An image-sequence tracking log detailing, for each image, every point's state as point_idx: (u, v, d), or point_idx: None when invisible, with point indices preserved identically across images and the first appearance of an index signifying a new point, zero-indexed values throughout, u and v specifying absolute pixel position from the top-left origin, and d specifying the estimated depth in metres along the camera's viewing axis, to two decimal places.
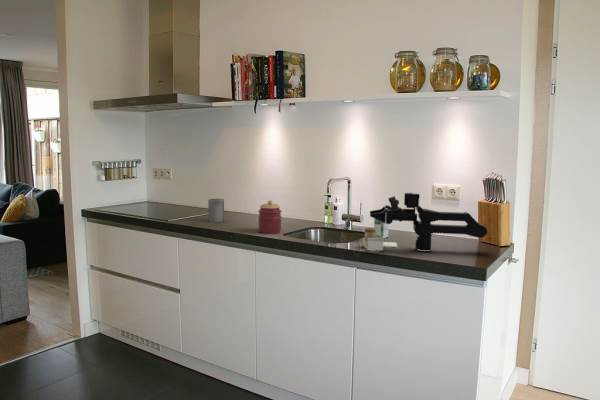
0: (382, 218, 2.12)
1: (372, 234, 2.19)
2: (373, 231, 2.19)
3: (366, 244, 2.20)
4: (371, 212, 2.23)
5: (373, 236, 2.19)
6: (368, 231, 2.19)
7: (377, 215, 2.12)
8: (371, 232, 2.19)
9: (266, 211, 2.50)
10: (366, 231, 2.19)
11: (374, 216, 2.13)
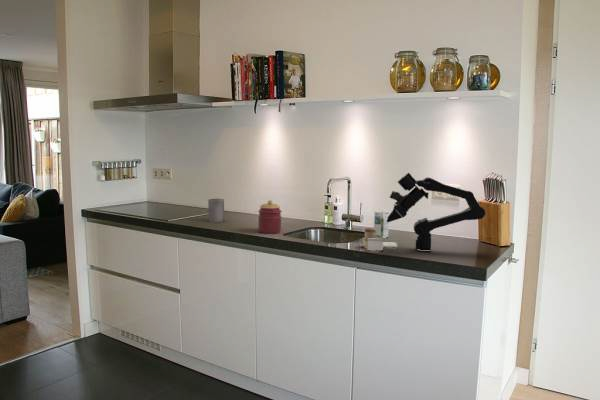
0: (397, 215, 2.11)
1: (372, 234, 2.19)
2: (373, 231, 2.19)
3: (366, 244, 2.20)
4: (389, 217, 2.23)
5: (373, 236, 2.19)
6: (368, 231, 2.19)
7: (392, 217, 2.12)
8: (371, 232, 2.19)
9: (266, 211, 2.50)
10: (366, 231, 2.19)
11: (390, 219, 2.13)
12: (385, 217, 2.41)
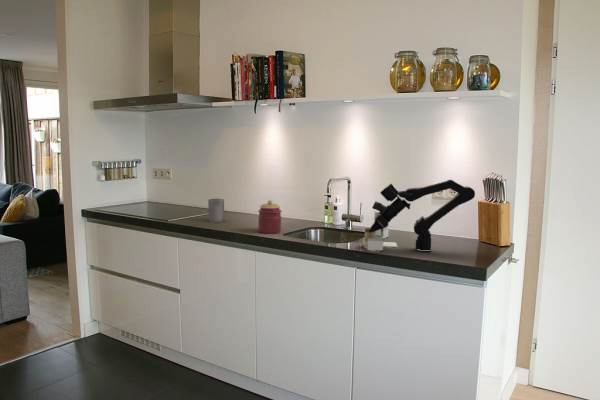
0: (379, 226, 2.14)
1: (372, 234, 2.19)
2: None
3: (366, 244, 2.20)
4: None
5: (373, 236, 2.19)
6: (368, 231, 2.19)
7: (374, 227, 2.15)
8: (371, 232, 2.19)
9: (266, 211, 2.50)
10: (366, 231, 2.19)
11: (373, 230, 2.15)
12: None
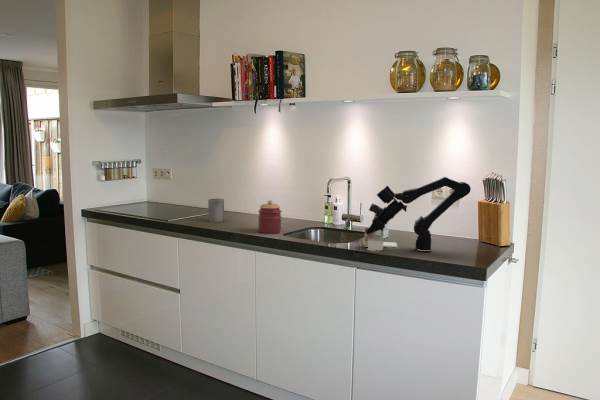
0: (376, 227, 2.16)
1: (372, 234, 2.19)
2: None
3: (366, 244, 2.20)
4: None
5: (373, 236, 2.19)
6: None
7: (371, 228, 2.17)
8: None
9: (266, 211, 2.50)
10: (366, 231, 2.19)
11: (370, 231, 2.18)
12: None
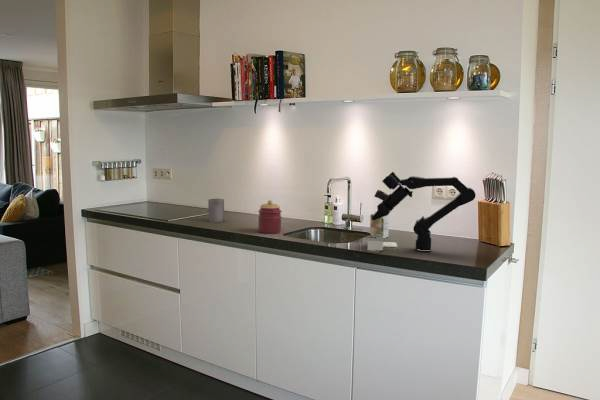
0: (382, 213, 2.16)
1: (378, 220, 2.19)
2: None
3: (372, 230, 2.20)
4: None
5: (379, 222, 2.19)
6: None
7: (376, 215, 2.18)
8: None
9: (266, 211, 2.50)
10: None
11: (375, 217, 2.18)
12: (385, 217, 2.41)
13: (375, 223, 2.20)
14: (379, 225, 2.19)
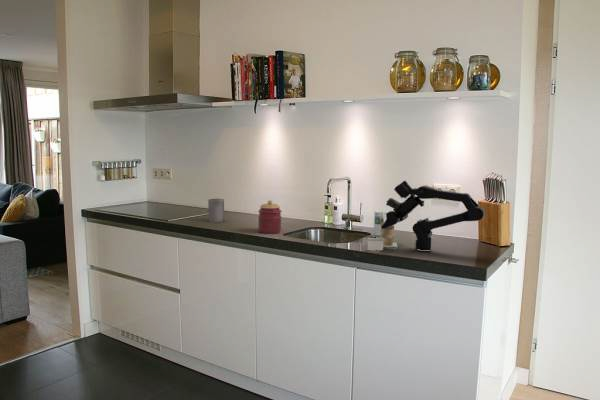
0: (391, 222, 2.16)
1: (388, 231, 2.21)
2: (389, 228, 2.21)
3: None
4: None
5: (389, 233, 2.21)
6: (384, 228, 2.22)
7: (386, 223, 2.18)
8: (387, 229, 2.21)
9: (266, 211, 2.50)
10: None
11: (385, 226, 2.19)
12: (385, 217, 2.41)
13: (386, 234, 2.22)
14: (389, 236, 2.21)
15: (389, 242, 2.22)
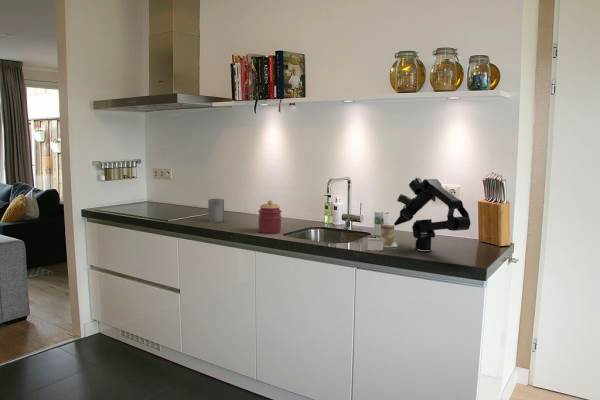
0: (404, 219, 2.13)
1: (388, 231, 2.21)
2: (389, 228, 2.21)
3: None
4: None
5: (389, 233, 2.21)
6: (384, 228, 2.22)
7: (399, 220, 2.14)
8: (387, 229, 2.21)
9: (266, 211, 2.50)
10: (382, 228, 2.22)
11: (398, 222, 2.15)
12: (385, 217, 2.41)
13: (386, 234, 2.22)
14: (389, 236, 2.21)
15: (389, 242, 2.22)
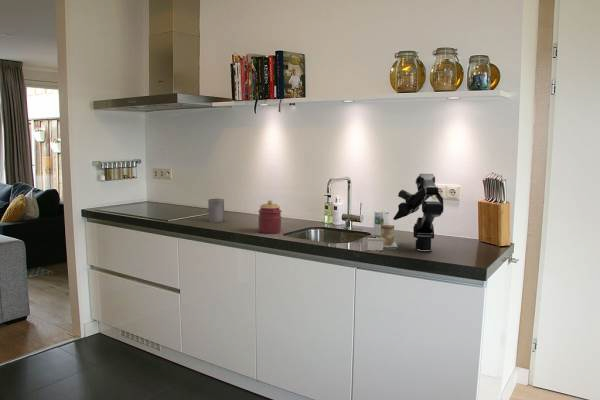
0: (403, 213, 2.17)
1: (388, 231, 2.21)
2: (389, 228, 2.21)
3: None
4: None
5: (389, 233, 2.21)
6: (384, 228, 2.22)
7: (398, 214, 2.19)
8: (387, 229, 2.21)
9: (266, 211, 2.50)
10: (382, 228, 2.22)
11: (397, 217, 2.19)
12: (385, 217, 2.41)
13: (386, 234, 2.22)
14: (389, 236, 2.21)
15: (389, 242, 2.22)
